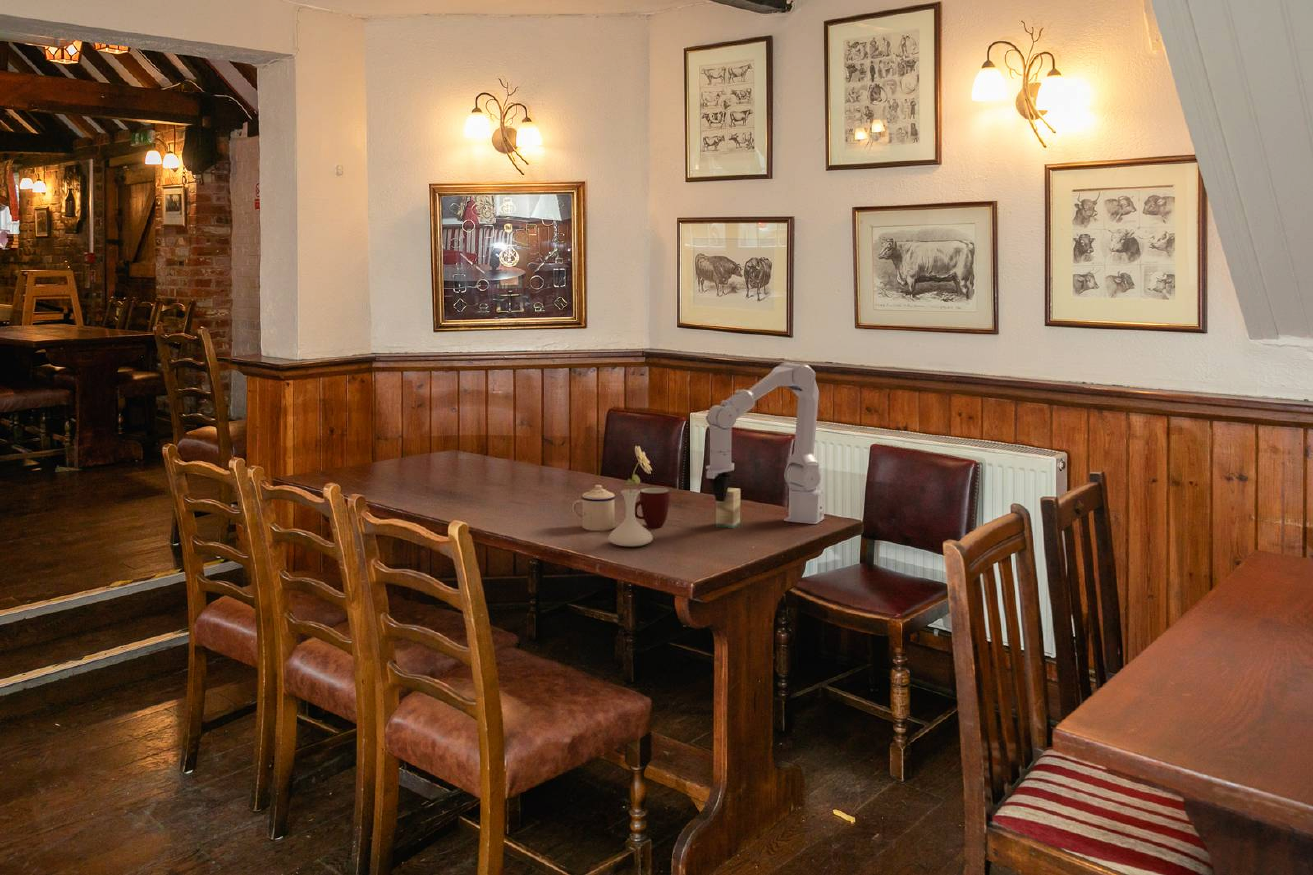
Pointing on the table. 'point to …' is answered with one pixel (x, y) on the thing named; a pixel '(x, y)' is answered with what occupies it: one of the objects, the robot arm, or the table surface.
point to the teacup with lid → (597, 509)
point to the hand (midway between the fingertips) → (720, 500)
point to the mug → (653, 506)
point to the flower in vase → (632, 512)
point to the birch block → (729, 509)
